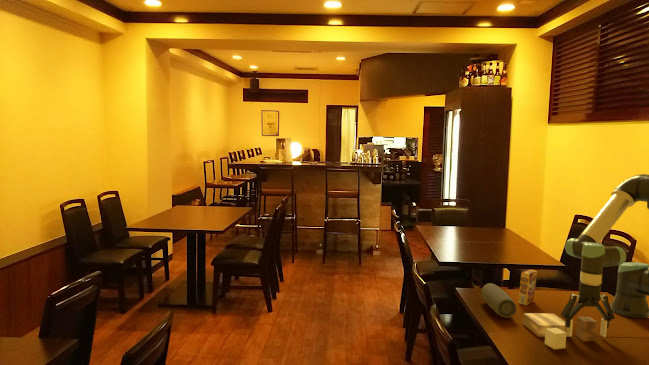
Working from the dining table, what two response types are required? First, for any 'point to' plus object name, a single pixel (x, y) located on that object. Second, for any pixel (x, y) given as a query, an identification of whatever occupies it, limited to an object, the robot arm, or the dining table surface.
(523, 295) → the candy box
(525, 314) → the beech block
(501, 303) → the bluetooth speaker
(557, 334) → the stoneware cube
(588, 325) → the walnut block
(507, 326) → the dining table surface
